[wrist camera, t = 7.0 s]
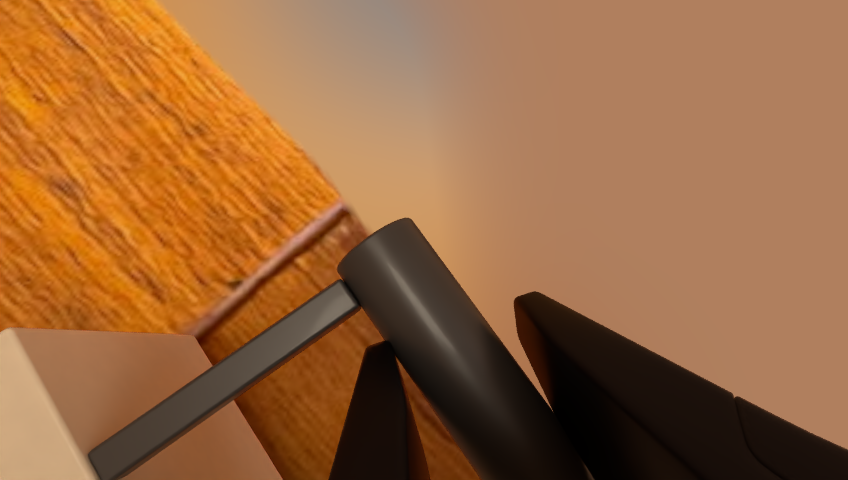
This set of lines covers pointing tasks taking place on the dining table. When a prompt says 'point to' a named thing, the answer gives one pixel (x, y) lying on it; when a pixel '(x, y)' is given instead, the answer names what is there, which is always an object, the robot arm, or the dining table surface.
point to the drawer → (242, 369)
